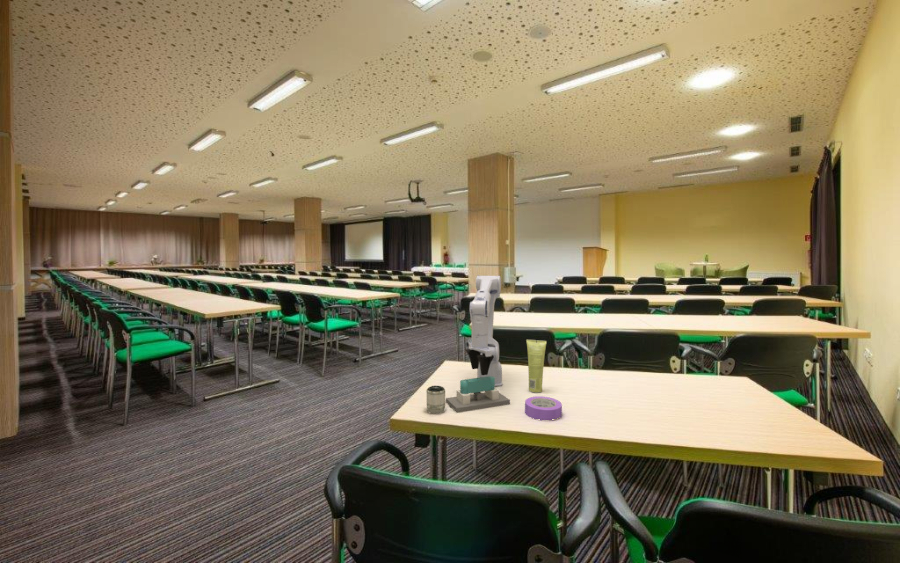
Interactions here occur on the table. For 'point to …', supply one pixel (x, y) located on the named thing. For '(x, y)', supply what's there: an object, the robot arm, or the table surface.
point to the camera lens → (435, 399)
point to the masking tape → (543, 408)
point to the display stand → (476, 400)
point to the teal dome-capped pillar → (477, 385)
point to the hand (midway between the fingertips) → (479, 371)
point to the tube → (535, 364)
